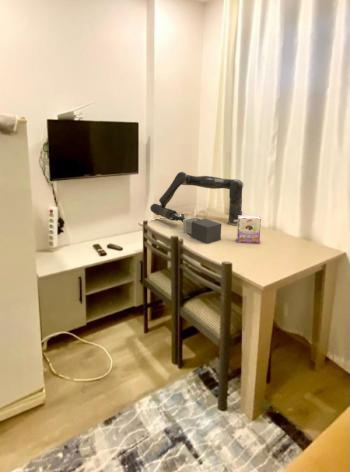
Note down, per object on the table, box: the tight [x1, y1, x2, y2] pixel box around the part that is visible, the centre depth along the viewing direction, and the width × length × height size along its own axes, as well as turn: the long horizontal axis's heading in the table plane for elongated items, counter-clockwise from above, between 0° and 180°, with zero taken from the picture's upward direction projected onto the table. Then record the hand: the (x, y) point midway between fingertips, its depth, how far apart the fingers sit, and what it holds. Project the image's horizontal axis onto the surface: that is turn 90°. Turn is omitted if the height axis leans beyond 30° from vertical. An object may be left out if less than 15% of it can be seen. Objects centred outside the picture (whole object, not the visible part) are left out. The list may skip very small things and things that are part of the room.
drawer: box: [181, 216, 202, 235], centre depth 219 cm, size 18×11×9 cm, turn 39°
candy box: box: [236, 215, 262, 244], centre depth 205 cm, size 14×6×16 cm, turn 84°
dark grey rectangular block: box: [190, 217, 222, 245], centre depth 210 cm, size 15×13×11 cm
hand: (184, 219), depth 226 cm, fingers closed
